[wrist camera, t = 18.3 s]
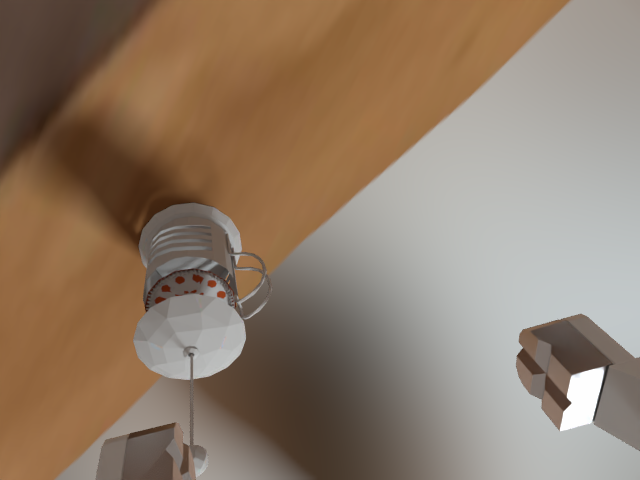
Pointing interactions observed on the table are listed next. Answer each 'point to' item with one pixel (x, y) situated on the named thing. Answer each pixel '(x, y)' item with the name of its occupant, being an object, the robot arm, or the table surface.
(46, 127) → the table surface
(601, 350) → the robot arm
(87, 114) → the table surface
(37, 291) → the table surface
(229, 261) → the french press
